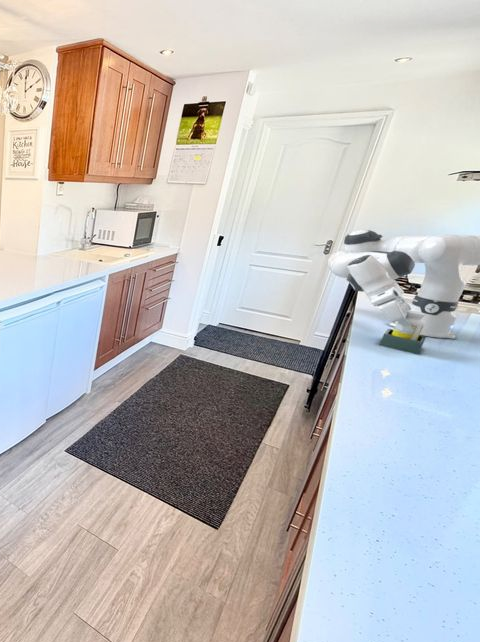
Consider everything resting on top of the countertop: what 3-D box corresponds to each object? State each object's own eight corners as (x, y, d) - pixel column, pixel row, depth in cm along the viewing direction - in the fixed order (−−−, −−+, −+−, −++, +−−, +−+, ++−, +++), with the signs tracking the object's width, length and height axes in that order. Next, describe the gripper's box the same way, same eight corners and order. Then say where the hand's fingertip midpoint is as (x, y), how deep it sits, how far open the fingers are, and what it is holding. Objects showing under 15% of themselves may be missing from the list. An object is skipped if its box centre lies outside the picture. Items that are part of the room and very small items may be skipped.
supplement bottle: (401, 342, 151) (417, 310, 146) (418, 349, 145) (435, 315, 140) (382, 341, 152) (397, 308, 147) (398, 347, 146) (414, 314, 141)
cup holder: (383, 339, 155) (388, 328, 153) (420, 347, 148) (426, 336, 146) (379, 345, 149) (384, 333, 147) (417, 354, 142) (423, 342, 140)
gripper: (379, 294, 157) (404, 325, 154) (370, 303, 145) (396, 336, 142) (400, 286, 152) (426, 317, 149) (392, 294, 140) (420, 328, 137)
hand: (411, 327), depth 145 cm, fingers closed on supplement bottle, 6 cm apart
